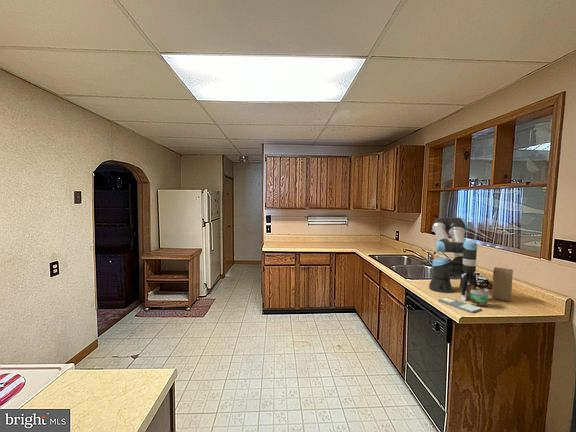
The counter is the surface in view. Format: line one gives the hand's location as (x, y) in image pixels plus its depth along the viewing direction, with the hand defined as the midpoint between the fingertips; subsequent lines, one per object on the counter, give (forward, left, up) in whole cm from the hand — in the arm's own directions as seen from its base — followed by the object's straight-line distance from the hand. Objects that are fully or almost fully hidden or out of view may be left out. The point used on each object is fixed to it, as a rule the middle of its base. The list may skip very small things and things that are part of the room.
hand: (467, 299), depth 185 cm
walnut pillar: (0, 0, 0) cm, 0 cm away
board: (+4, -16, 0) cm, 17 cm away
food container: (+11, -4, -1) cm, 12 cm away
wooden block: (+9, +23, -1) cm, 25 cm away
